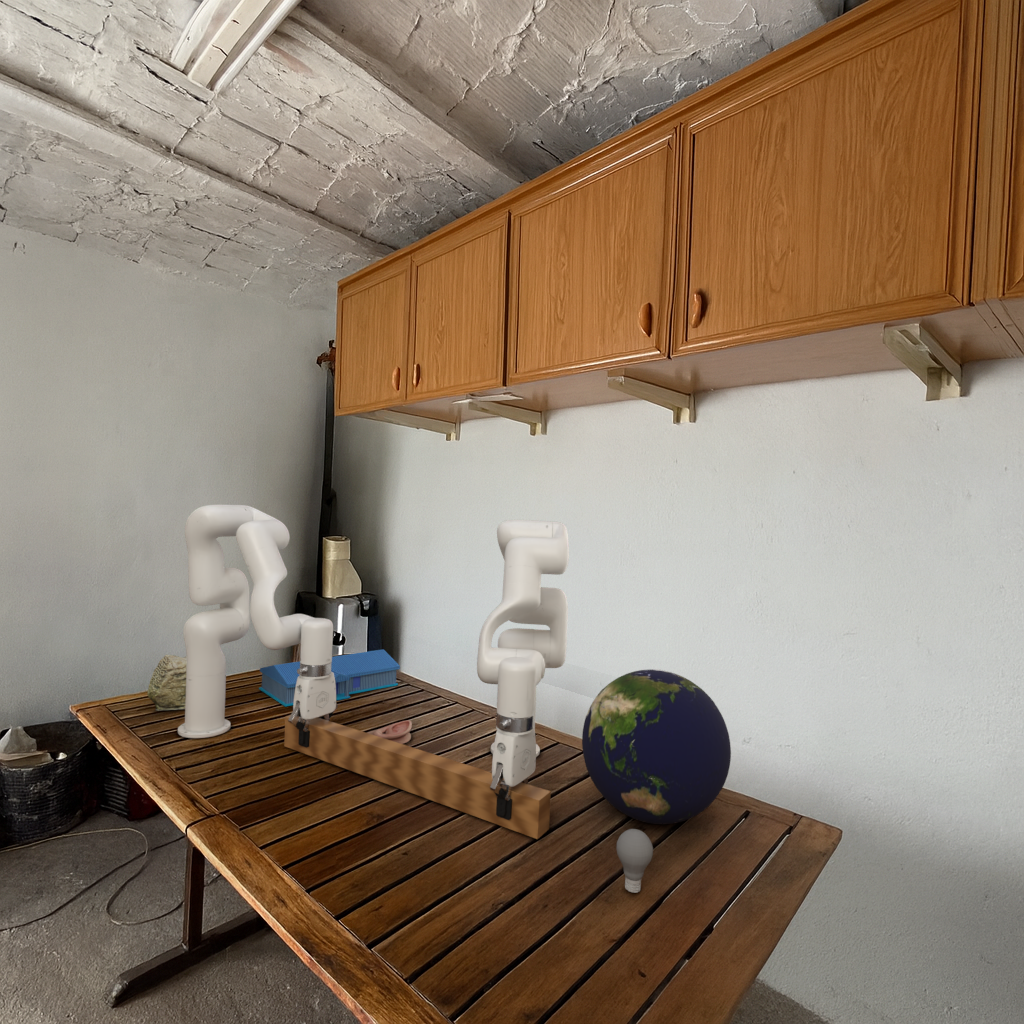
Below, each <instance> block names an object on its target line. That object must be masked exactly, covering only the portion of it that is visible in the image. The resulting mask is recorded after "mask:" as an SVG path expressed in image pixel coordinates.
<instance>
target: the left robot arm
mask: <svg viewBox="0 0 1024 1024" xmlns="http://www.w3.org/2000/svg"><path fill="white" fill-rule="evenodd" d="M222 537H223V538H225V537H228V538H229V537H235V538H236V543H237V546H238V548H239V550H240V553H241V556H242V557H243V561H244V563H245V566H246V568H247V571H248V573H249V576H250V578H251V582H252V583H253V587H252V591H251V596H250V584H249V580H248V578H247V576H246V574H245V573H244V572H243V571H242V570H241V569H239V568H237V567H232V566H226V567H225V554H224V550H223V547H222V545H221V544H220V542H219V540H218V539H217V538H222ZM290 537H291V536H290V532H289V529H288V527H287V525H285V523H283V522H282V521H281V520H279V519H278V518H276V517H274V516H272V515H269V514H267V513H265V512H264V511H262V510H260V509H258V508H255V507H253V506H250V505H247V504H223V503H222V504H221V503H220V504H219V503H218V504H217V503H216V504H207V505H202V506H199V507H198V508H196V509H194V510H193V511H192V512H191V513H190V514H189V516H188V517H187V519H186V521H185V526H184V538H185V543H186V548H187V549H186V550H187V559H188V560H187V561H188V562H187V567H188V569H187V570H188V593H189V594H188V595H189V598H190V601H191V602H192V603H193V605H196V606H200V607H207V606H208V607H209V606H215V605H219V608H214V609H209V610H208V609H207V610H204V611H199V612H197V613H195V614H193V615H191V616H190V617H189V618H188V619H187V620H186V622H185V623H184V625H183V630H182V631H183V632H182V634H183V640H184V646H185V657H186V658H187V666H186V701H185V709H184V722H182V724H180V725H179V726H178V727H177V734H178V735H179V736H180V737H182V738H188V739H207V738H212V737H216V736H220V735H222V734H224V733H227V732H228V731H230V729H231V727H232V725H231V723H232V722H231V721H230V720H228V719H226V718H225V715H226V692H227V691H226V689H227V659H226V656H225V653H224V652H223V650H222V647H221V646H222V645H224V644H229V643H231V642H235V641H238V640H240V639H242V638H243V637H245V636H246V635H247V633H248V631H249V629H250V625H251V623H250V622H252V625H253V628H254V630H255V632H256V635H257V638H258V639H259V641H260V642H261V644H262V646H264V647H265V648H267V649H268V650H271V651H279V650H283V649H287V648H289V647H292V646H293V647H294V646H298V645H300V652H299V653H300V655H299V661H300V669H297V673H298V674H300V675H299V676H298V678H297V682H296V687H295V694H294V703H293V705H292V712H291V714H290V715H291V716H290V717H289V719H288V722H290V723H291V724H293V725H294V726H295V727H296V728H297V729H298V730H299V740H298V741H299V742H298V744H299V745H301V746H303V747H306V748H307V747H309V739H310V731H308V727H309V723H310V720H312V719H315V718H321V719H325V720H328V721H331V718H332V716H333V715H334V713H335V711H336V710H337V709H338V707H339V705H338V703H337V701H336V684H335V677H334V673H333V672H331V668H332V657H333V641H334V624H333V622H332V620H331V619H330V618H329V619H328V618H324V617H313V616H311V615H308V614H304V613H293V614H290V615H284V616H280V617H279V614H278V612H277V609H276V606H275V593H276V589H277V588H278V586H279V584H281V582H283V580H285V579H286V578H287V576H288V570H287V567H286V565H285V562H284V560H283V557H282V555H281V553H280V551H283V550H284V549H286V548H287V547H288V545H289V543H290ZM298 717H299V719H298V720H297V718H298ZM303 720H305V722H304V724H303Z"/></svg>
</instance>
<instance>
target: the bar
mask: <svg viewBox="0 0 1024 1024" xmlns="http://www.w3.org/2000/svg"><path fill="white" fill-rule="evenodd" d="M290 716H291V714H289V715H286V716H284V742H283V747H285V748H287V749H290V750H293V751H296V752H299V753H301V754H305V755H307V756H309V757H312V758H315V759H318V760H319V761H320V760H321V761H323V762H325V763H329V764H332V765H334V766H337V767H340V768H342V769H345V770H347V771H349V772H350V771H351V772H353V773H356V774H359V775H361V776H364V777H366V778H369V779H372V780H375V781H378V782H380V783H383V784H385V785H389V786H391V787H394V788H395V789H396V788H397V789H399V790H401V791H404V792H408V793H410V794H412V795H416V796H419V797H421V798H423V799H425V800H429V801H432V802H435V803H437V804H441V805H443V806H445V807H448V808H451V809H454V810H457V811H460V812H461V813H464V814H467V815H469V816H473V817H476V818H479V819H481V820H483V821H486V822H489V823H491V824H495V825H497V826H500V827H503V828H505V829H508V830H510V831H513V832H516V833H519V834H522V835H524V836H527V837H530V838H533V839H535V840H538V839H540V838H541V837H542V836H543V835H544V834H546V833H547V831H549V830H550V817H551V798H552V797H551V795H552V792H551V790H548V789H544V788H541V787H539V786H535V785H531V784H529V783H528V784H526V783H523V782H520V783H519V784H517V785H516V786H514V787H512V790H511V796H510V799H512V813H511V819H510V820H507V819H504V818H501V817H498V816H497V815H496V805H497V797H496V796H495V793H494V792H493V791H492V790H490V786H491V783H492V781H493V779H492V771H487V770H484V769H482V768H478V767H475V766H472V765H470V764H465V763H463V762H459V761H456V760H454V759H450V758H448V757H444V756H441V755H437V754H434V753H431V752H428V751H425V750H421V749H418V748H415V747H412V746H409V745H406V744H404V743H403V744H400V743H397V742H394V741H391V740H387V739H384V738H381V737H378V736H375V735H372V734H369V733H367V732H365V731H362V730H359V729H356V728H353V727H350V726H348V725H347V726H346V725H343V724H340V723H337V722H333V721H332V720H330V721H328V720H325V719H321V718H315V719H312V720H310V723H309V727H308V731H310V739H309V747H307V748H306V747H303V746H301V745H299V744H298V742H299V741H298V740H299V730H298V729H297V728H296V727H295V726H294V725H293V724H291V723H290V722H288V719H289V717H290ZM298 719H299V717H298V718H297V720H298ZM304 722H305V720H303V724H304ZM503 780H504V778H503ZM504 781H505V780H504ZM502 788H503V789H504V790H505V791H506V788H507V786H505V785H502Z"/></svg>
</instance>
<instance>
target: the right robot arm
mask: <svg viewBox="0 0 1024 1024" xmlns="http://www.w3.org/2000/svg"><path fill="white" fill-rule="evenodd" d="M496 529H497V530H496V538H497V539H496V540H497V544H498V547H499V550H500V552H501V555H502V558H503V560H504V562H503V563H504V566H503V581H502V597H501V602H500V603H499V604H498V605H497V606H496V607H495V608H494V609H493V610H492V611H491V612H490V613H489V615H488V616H487V617H486V619H485V621H484V622H483V624H482V627H481V629H480V632H479V637H478V647H477V657H476V659H477V660H476V674H477V676H478V678H479V680H480V681H481V682H482V683H483V684H487V685H497V693H496V694H497V695H496V715H495V717H496V718H495V730H496V732H495V736H494V742H492V744H491V745H490V753H491V754H492V759H491V760H492V761H491V773H492V779H493V781H492V783H491V786H490V790H492V791H493V792H494V793H495V796H496V797H497V805H496V815H497V816H498V817H501V818H504V819H507V820H510V819H511V813H512V799H510V796H511V790H512V787H514V786H516V785H517V784H519V783H520V782H523V783H526V784H529V777H530V776H531V775H533V774H534V773H535V771H536V767H537V757H538V756H539V755H540V753H541V748H540V746H539V745H538V743H537V741H536V740H537V739H536V711H537V710H536V709H537V686H538V685H539V684H540V683H541V680H543V679H544V677H545V674H546V669H558V668H562V666H564V664H565V662H566V658H567V649H568V647H567V645H568V616H569V609H568V608H569V604H568V603H569V602H568V598H567V594H566V593H565V591H564V590H563V589H561V588H557V587H547V586H546V587H545V586H544V587H543V586H542V575H556V576H557V575H559V576H560V575H563V574H564V573H566V571H567V569H568V566H569V561H570V546H569V532H568V529H567V526H566V525H565V523H563V522H561V521H555V520H554V521H553V520H537V519H536V520H534V519H506V520H503V521H501V522H500V523H499V524H498V525H497V528H496ZM508 621H509V622H511V623H514V624H521V625H537V626H547V627H548V628H549V629H536V628H535V629H534V628H520V627H519V628H518V627H517V628H515V627H514V628H513V627H512V628H508V629H505V630H504V631H502V632H501V633H500V634H499V637H498V639H497V647H492V642H493V637H494V634H495V632H496V631H497V629H499V628H500V627H501V626H502V625H503V624H505V623H507V622H508ZM503 778H504V780H505V781H504V780H503ZM502 785H505V786H507V788H506V791H505V790H504V789H503V788H502Z"/></svg>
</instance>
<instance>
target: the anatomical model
mask: <svg viewBox="0 0 1024 1024" xmlns="http://www.w3.org/2000/svg"><path fill="white" fill-rule="evenodd" d="M412 728H413V722H412V721H411V720H409V719H408V720H402V721H399V722H395V723H392V724H389V725H386V726H384V727H381V728H378V729H374V730H370V731H367V732H366V733H369V734H372V735H375V736H378V737H381V738H384V739H387V740H391V741H394V742H397V743H400V744H403V745H404V744H406V743H408V742H410V740H411V739H412V734H411V733H410V732H411V730H412Z"/></svg>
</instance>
